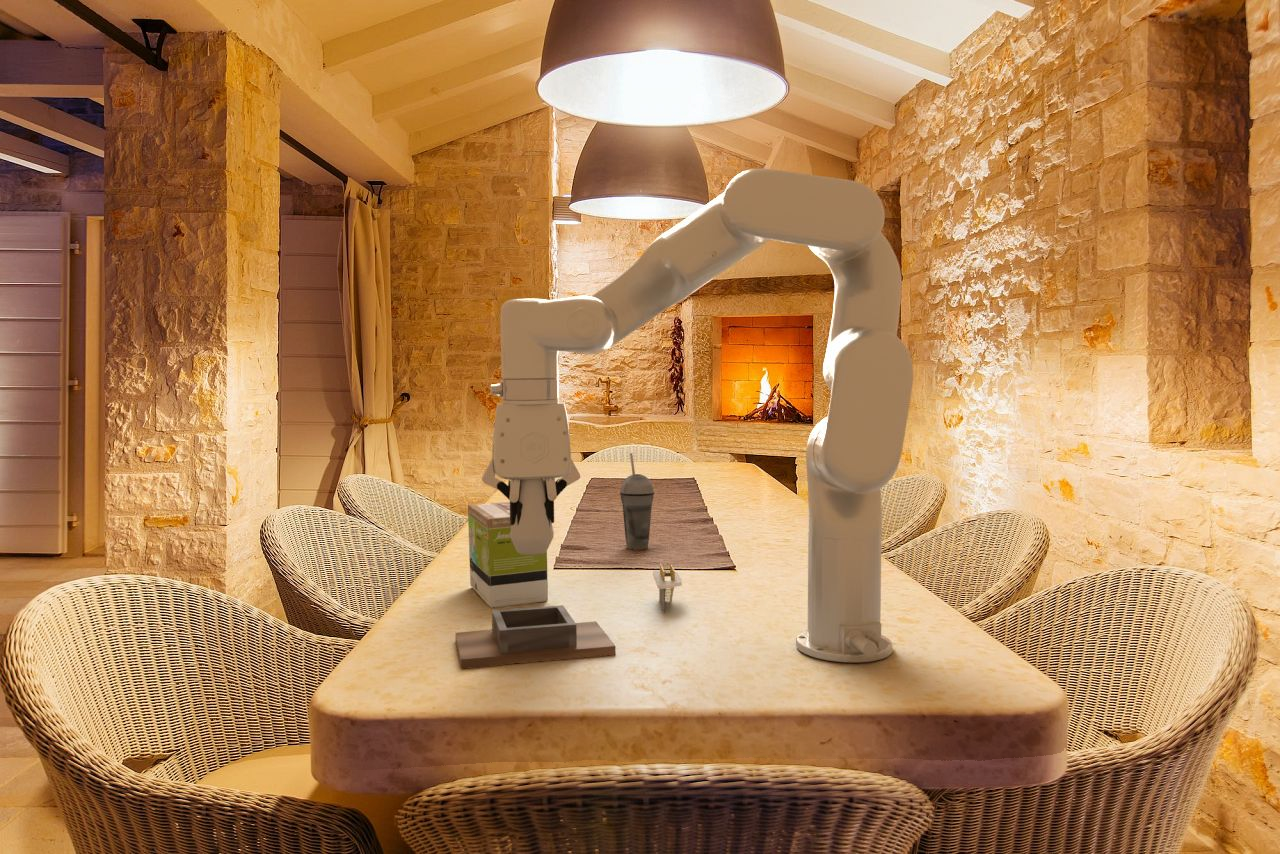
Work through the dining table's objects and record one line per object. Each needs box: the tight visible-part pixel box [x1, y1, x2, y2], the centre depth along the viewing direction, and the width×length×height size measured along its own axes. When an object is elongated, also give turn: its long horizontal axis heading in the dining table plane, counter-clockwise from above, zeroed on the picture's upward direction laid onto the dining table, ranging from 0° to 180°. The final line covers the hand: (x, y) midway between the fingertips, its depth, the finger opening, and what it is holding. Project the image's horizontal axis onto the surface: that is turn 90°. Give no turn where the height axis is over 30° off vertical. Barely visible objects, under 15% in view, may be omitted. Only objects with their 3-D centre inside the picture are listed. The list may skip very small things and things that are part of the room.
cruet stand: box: [454, 604, 617, 669], centre depth 122 cm, size 12×20×4 cm, turn 105°
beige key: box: [652, 563, 683, 614], centre depth 143 cm, size 12×18×7 cm, turn 4°
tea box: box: [467, 501, 549, 609], centre depth 150 cm, size 15×10×15 cm, turn 23°
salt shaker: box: [510, 478, 555, 555], centre depth 120 cm, size 6×6×13 cm
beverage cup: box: [619, 452, 655, 551], centre depth 189 cm, size 7×7×20 cm
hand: (532, 528), depth 121 cm, fingers closed on salt shaker, 3 cm apart
